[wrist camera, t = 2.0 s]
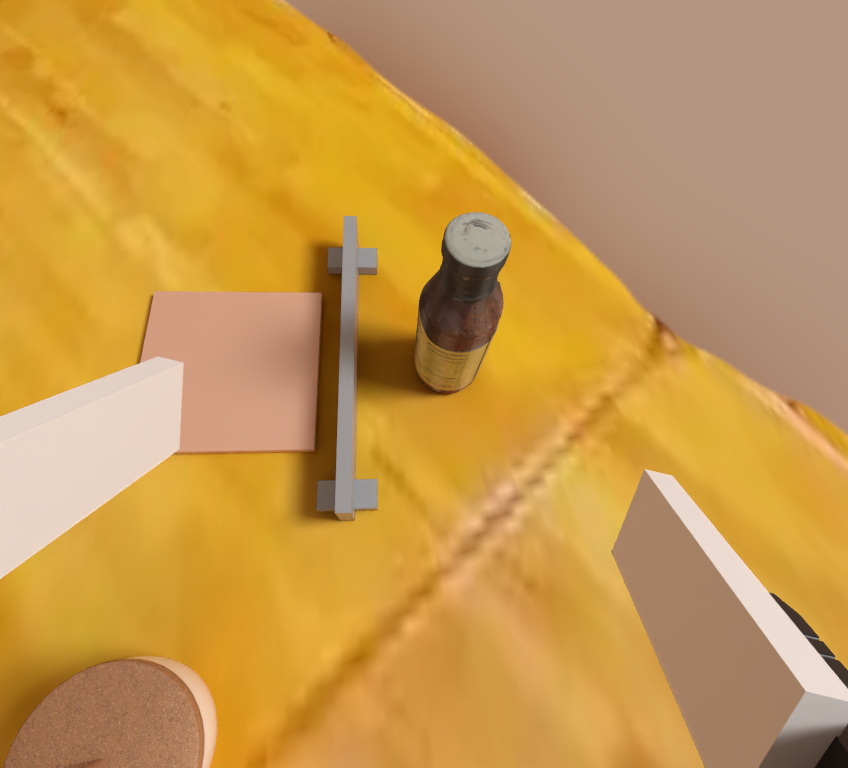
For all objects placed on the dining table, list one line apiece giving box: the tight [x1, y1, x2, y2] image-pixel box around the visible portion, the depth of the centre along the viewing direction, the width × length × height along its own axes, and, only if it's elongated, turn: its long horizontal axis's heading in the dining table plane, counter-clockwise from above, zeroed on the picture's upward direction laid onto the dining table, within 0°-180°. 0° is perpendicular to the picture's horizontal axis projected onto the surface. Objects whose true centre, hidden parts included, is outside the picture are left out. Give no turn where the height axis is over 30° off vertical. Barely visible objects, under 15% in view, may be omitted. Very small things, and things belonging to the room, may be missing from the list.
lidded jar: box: [3, 656, 217, 768], centre depth 30 cm, size 11×11×9 cm
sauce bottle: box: [415, 212, 511, 394], centre depth 37 cm, size 7×6×20 cm
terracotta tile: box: [140, 291, 323, 454], centre depth 44 cm, size 16×16×1 cm
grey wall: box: [316, 216, 377, 521], centre depth 43 cm, size 5×28×5 cm, turn 2°
